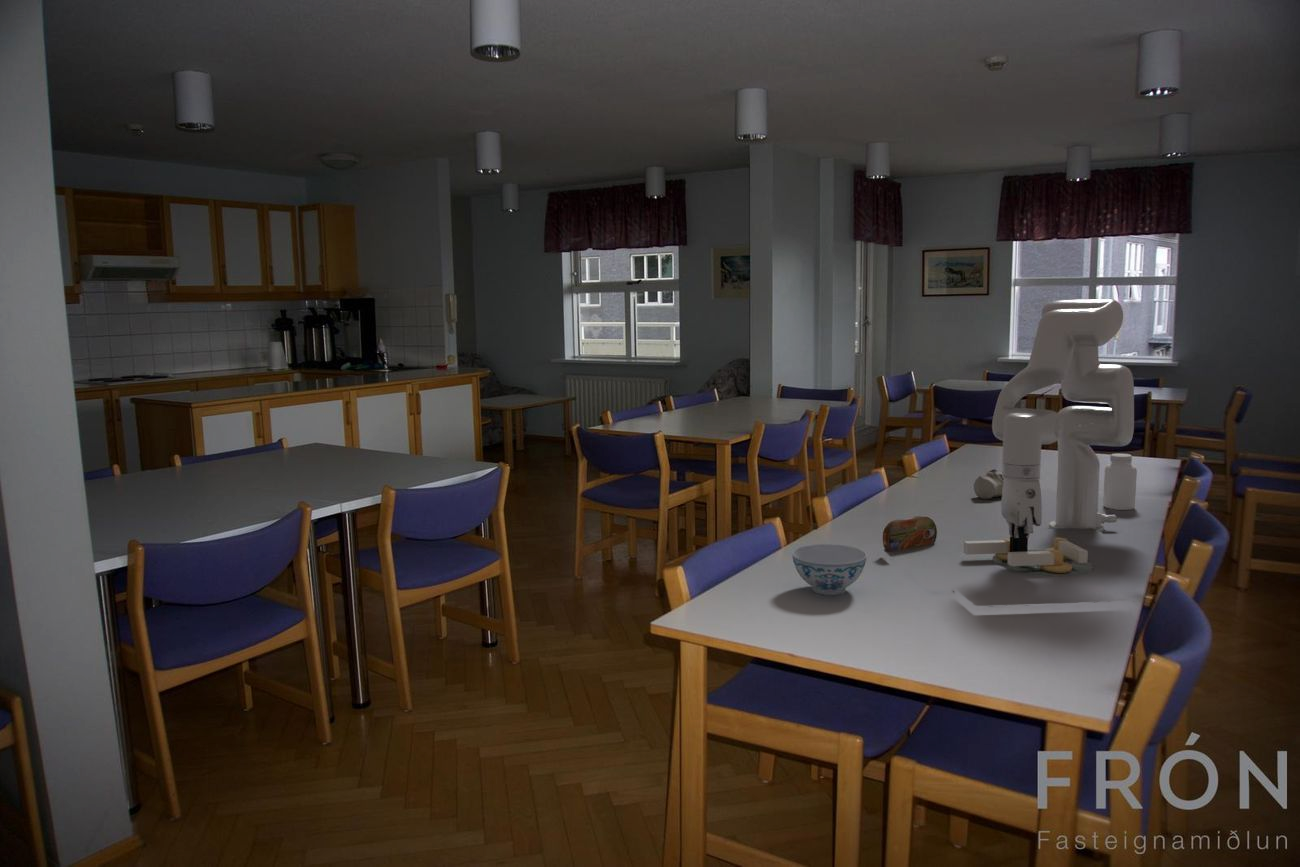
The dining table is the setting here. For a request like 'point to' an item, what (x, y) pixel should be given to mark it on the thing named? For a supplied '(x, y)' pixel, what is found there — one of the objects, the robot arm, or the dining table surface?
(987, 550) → the knob left
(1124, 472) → the pill bottle
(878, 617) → the dining table surface
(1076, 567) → the level base
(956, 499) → the dining table surface
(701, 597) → the dining table surface
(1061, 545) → the knob right
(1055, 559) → the knob front
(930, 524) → the tin
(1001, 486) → the ceramic sculpture
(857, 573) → the chinaware
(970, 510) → the dining table surface
